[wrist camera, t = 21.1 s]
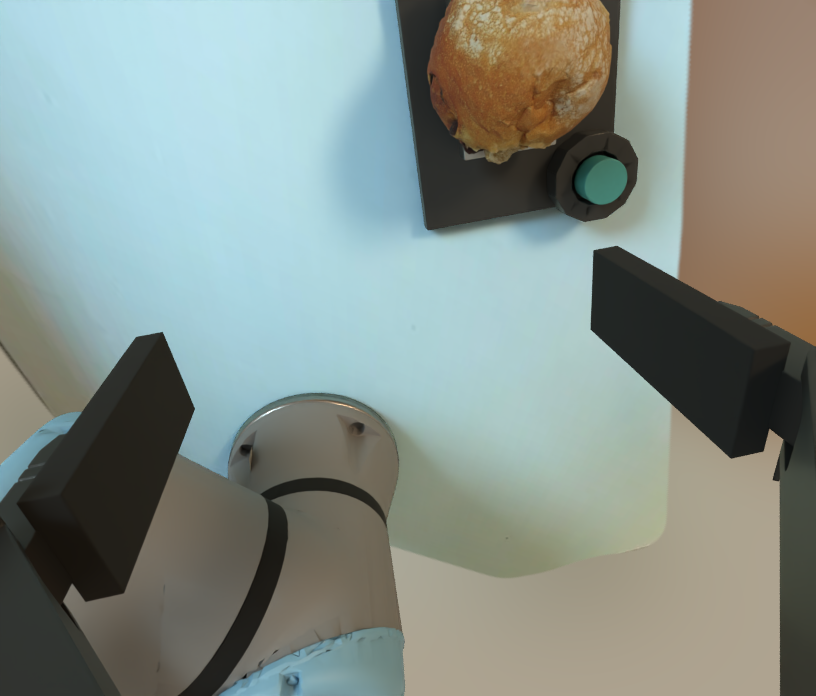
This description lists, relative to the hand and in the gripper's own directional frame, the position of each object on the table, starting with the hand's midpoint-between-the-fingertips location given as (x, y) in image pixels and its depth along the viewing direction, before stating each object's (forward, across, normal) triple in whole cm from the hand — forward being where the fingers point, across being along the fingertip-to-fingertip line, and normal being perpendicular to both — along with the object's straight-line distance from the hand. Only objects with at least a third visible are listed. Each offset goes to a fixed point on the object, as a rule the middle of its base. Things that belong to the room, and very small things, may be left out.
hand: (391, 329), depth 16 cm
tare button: (+21, -17, +2) cm, 27 cm away
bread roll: (+19, -10, -6) cm, 23 cm away
